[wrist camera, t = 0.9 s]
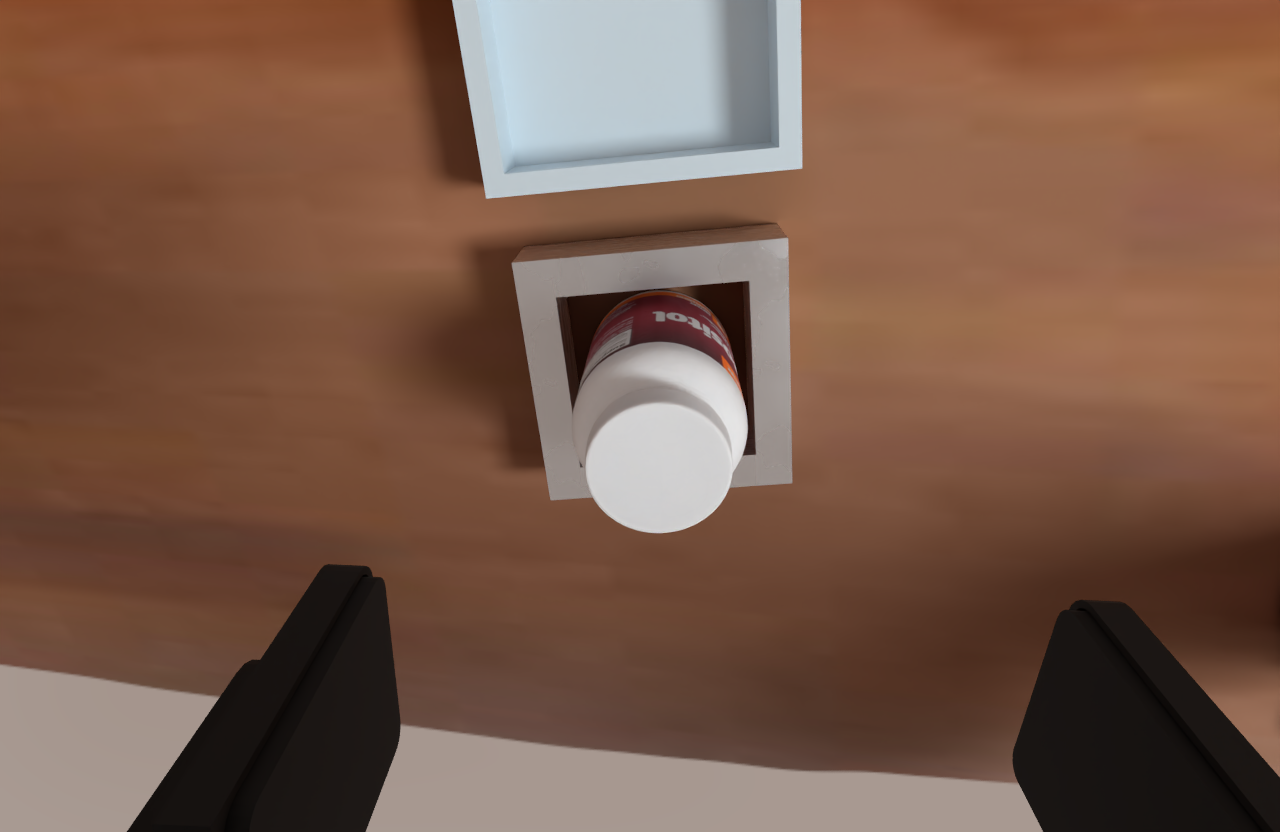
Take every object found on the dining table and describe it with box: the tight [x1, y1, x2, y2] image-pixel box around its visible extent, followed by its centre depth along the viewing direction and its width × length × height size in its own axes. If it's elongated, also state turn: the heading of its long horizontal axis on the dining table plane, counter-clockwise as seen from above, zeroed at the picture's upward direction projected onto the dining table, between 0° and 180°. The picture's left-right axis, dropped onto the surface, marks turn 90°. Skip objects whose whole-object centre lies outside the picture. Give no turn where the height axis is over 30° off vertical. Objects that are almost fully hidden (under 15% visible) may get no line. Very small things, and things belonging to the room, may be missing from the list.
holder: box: [512, 223, 792, 500], centre depth 33 cm, size 10×10×3 cm
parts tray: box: [452, 0, 802, 199], centre depth 27 cm, size 12×12×3 cm
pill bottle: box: [572, 290, 748, 533], centre depth 29 cm, size 6×6×11 cm
